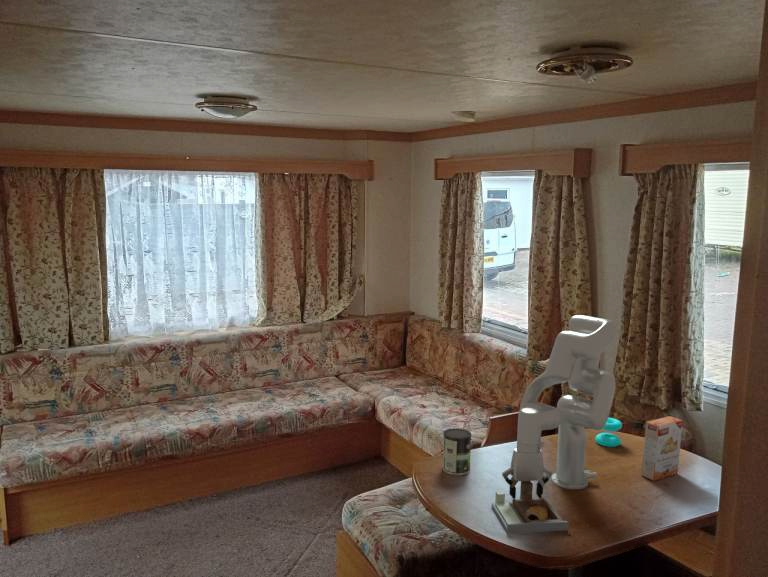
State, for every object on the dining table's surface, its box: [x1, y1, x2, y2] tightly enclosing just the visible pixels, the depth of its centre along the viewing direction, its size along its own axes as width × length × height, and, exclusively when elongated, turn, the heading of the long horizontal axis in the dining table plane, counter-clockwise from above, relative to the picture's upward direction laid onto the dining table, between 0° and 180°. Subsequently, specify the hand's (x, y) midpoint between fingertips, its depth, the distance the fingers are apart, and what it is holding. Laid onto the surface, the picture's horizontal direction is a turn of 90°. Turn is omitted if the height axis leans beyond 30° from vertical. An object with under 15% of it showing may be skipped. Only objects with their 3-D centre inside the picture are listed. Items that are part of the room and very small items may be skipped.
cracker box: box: [640, 415, 684, 482], centre depth 233 cm, size 14×6×21 cm, turn 121°
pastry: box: [524, 506, 549, 521], centre depth 201 cm, size 9×7×4 cm
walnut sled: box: [511, 481, 564, 523], centre depth 203 cm, size 11×19×7 cm, turn 7°
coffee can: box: [442, 428, 472, 476], centre depth 236 cm, size 10×10×14 cm
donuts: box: [595, 416, 623, 448], centre depth 264 cm, size 10×10×10 cm
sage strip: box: [494, 490, 522, 524], centre depth 201 cm, size 4×18×4 cm, turn 7°
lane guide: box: [491, 501, 569, 534], centre depth 200 cm, size 19×17×3 cm
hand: (525, 496), depth 211 cm, fingers open, 8 cm apart
